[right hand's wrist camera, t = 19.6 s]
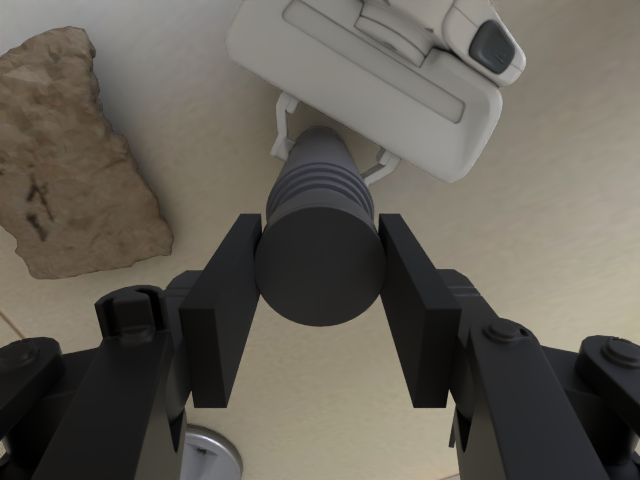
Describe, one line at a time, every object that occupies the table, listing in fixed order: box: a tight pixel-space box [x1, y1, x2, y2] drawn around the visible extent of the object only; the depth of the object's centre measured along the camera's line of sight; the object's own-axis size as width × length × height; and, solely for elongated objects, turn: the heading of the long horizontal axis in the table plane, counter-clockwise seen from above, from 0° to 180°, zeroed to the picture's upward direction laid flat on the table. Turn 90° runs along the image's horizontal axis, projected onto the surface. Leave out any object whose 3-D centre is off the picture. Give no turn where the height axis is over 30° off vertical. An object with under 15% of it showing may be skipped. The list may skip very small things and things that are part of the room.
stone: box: [0, 26, 174, 279], centre depth 34 cm, size 21×15×6 cm
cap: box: [254, 191, 386, 327], centre depth 13 cm, size 4×4×2 cm
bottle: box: [266, 127, 374, 222], centre depth 24 cm, size 5×5×25 cm
